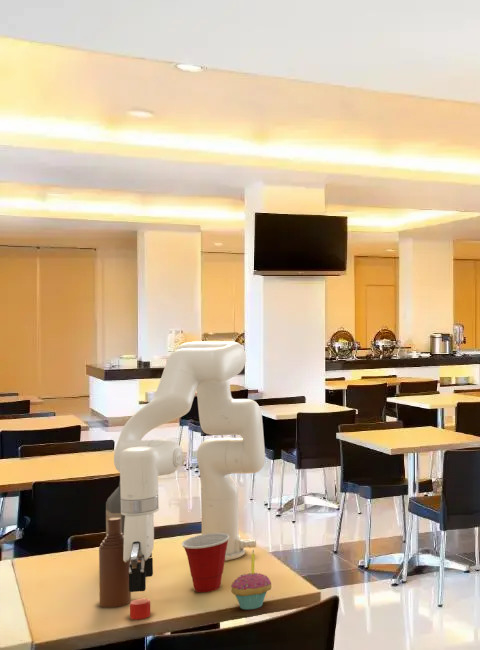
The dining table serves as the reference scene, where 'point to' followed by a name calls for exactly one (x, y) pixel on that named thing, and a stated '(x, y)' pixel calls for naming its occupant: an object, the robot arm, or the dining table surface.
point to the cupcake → (251, 588)
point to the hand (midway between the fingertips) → (141, 583)
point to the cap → (140, 608)
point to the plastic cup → (206, 560)
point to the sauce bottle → (113, 568)
